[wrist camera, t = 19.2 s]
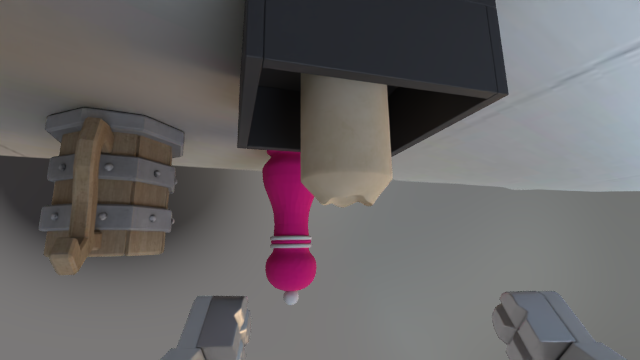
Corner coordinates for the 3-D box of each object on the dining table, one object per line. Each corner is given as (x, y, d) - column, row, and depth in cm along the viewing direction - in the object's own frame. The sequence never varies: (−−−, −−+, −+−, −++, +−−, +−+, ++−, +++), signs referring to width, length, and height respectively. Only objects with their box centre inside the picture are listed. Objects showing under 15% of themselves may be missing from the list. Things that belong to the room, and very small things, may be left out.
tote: (240, 78, 25) (237, 148, 24) (249, -68, 13) (245, 56, 12) (385, 97, 28) (389, 158, 27) (494, -5, 17) (509, 94, 16)
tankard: (183, 151, 44) (175, 260, 41) (74, 140, 39) (55, 263, 36) (186, 89, 26) (172, 272, 23) (-14, 54, 21) (-65, 283, 18)
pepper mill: (252, 141, 40) (247, 305, 36) (287, 126, 35) (285, 314, 31) (295, 151, 45) (294, 297, 41) (331, 139, 40) (334, 304, 36)
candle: (398, 30, 18) (409, 199, 16) (370, 78, 24) (376, 210, 22) (304, 22, 18) (305, 199, 16) (297, 74, 23) (297, 210, 21)
